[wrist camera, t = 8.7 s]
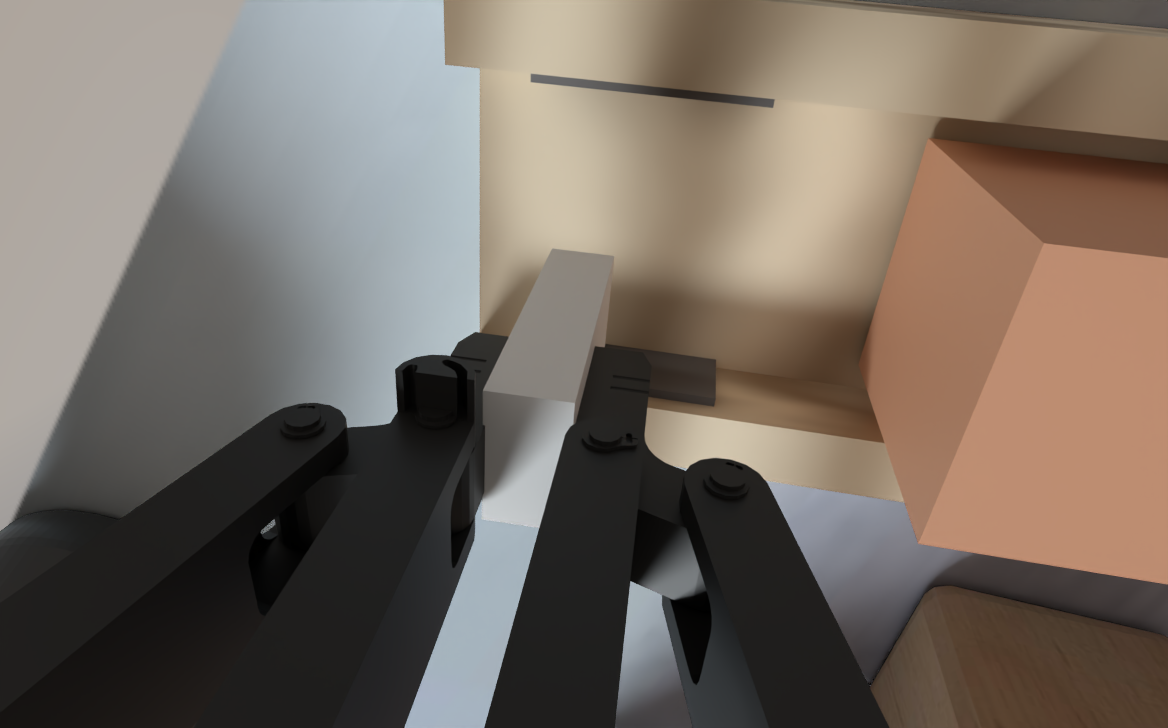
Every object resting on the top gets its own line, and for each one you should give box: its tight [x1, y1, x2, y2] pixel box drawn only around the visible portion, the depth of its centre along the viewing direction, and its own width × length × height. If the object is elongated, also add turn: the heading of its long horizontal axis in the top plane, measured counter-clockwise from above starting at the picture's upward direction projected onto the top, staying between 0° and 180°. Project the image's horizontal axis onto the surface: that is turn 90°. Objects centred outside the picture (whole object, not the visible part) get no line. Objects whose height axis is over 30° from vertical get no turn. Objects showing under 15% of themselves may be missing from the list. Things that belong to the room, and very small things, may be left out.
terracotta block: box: [858, 138, 1168, 584], centre depth 17 cm, size 7×7×8 cm
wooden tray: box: [444, 0, 1168, 502], centre depth 20 cm, size 24×13×5 cm, turn 86°
